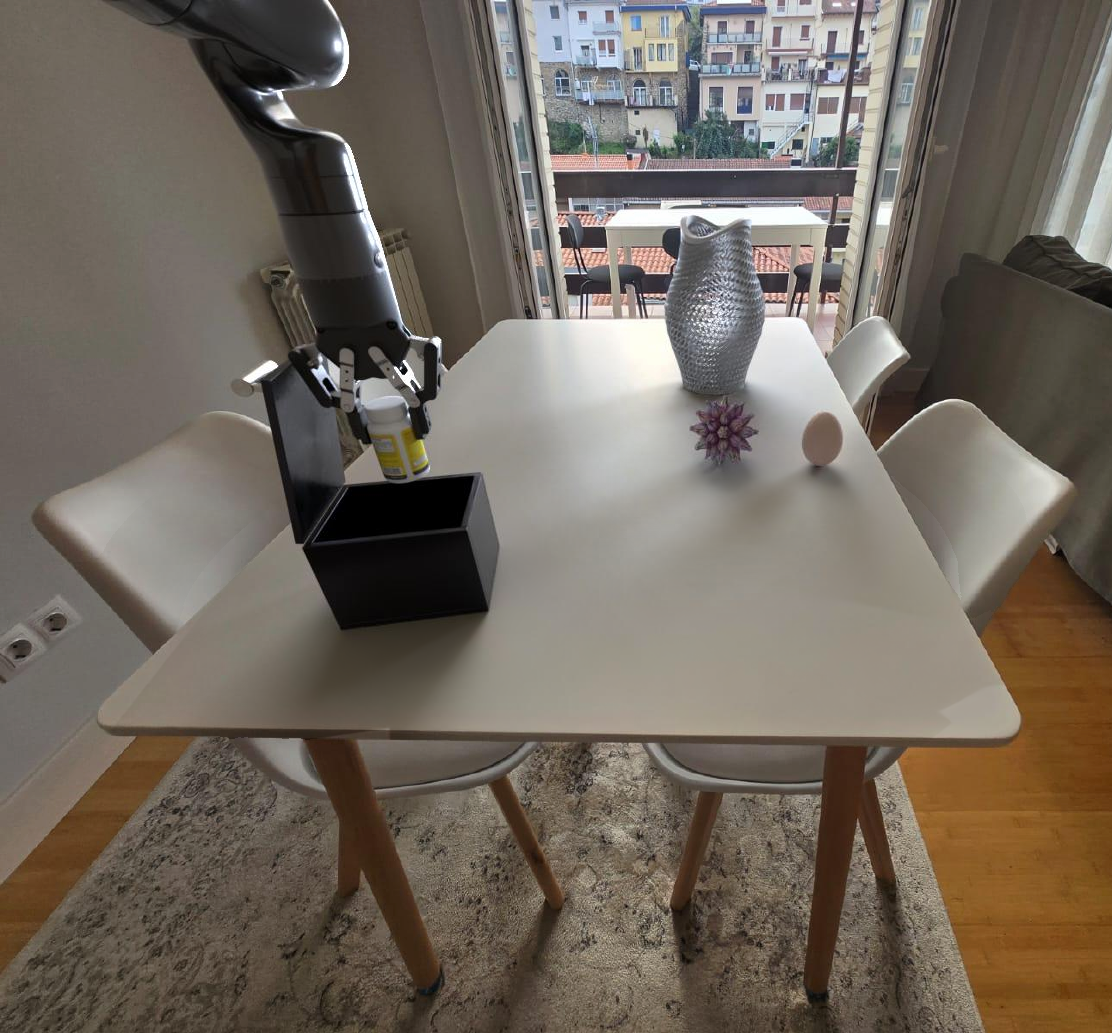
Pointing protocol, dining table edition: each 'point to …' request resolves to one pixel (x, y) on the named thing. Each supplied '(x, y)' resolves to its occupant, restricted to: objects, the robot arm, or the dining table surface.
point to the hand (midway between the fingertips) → (395, 438)
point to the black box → (406, 550)
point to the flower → (723, 430)
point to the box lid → (299, 441)
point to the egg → (822, 439)
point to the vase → (747, 303)
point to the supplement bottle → (395, 440)
